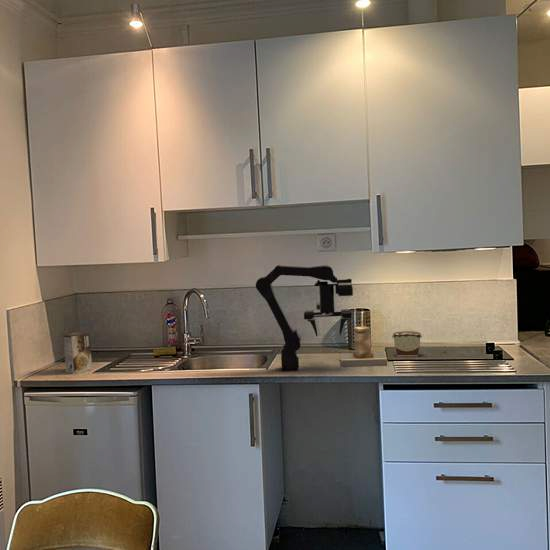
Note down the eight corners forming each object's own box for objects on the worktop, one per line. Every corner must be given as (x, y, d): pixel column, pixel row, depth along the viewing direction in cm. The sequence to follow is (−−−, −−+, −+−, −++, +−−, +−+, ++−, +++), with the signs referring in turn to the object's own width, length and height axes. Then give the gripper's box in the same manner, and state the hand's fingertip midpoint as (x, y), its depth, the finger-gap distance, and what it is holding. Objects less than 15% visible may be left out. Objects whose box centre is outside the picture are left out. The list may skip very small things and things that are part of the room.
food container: (422, 353, 262) (422, 330, 262) (422, 356, 256) (421, 333, 256) (393, 353, 266) (393, 330, 265) (392, 356, 260) (392, 333, 259)
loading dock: (342, 366, 245) (341, 360, 244) (340, 359, 257) (340, 353, 257) (387, 365, 243) (386, 358, 243) (383, 358, 256) (383, 352, 256)
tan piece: (358, 358, 246) (357, 329, 245) (352, 355, 253) (351, 327, 252) (373, 357, 247) (372, 328, 247) (367, 354, 254) (366, 325, 253)
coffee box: (84, 368, 264) (81, 331, 263) (92, 369, 260) (90, 332, 259) (65, 372, 257) (62, 334, 256) (73, 374, 253) (71, 335, 252)
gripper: (349, 293, 249) (350, 331, 250) (303, 295, 250) (305, 333, 251) (350, 296, 238) (352, 336, 239) (303, 298, 239) (304, 337, 240)
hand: (328, 335), depth 243 cm, fingers open, 9 cm apart
